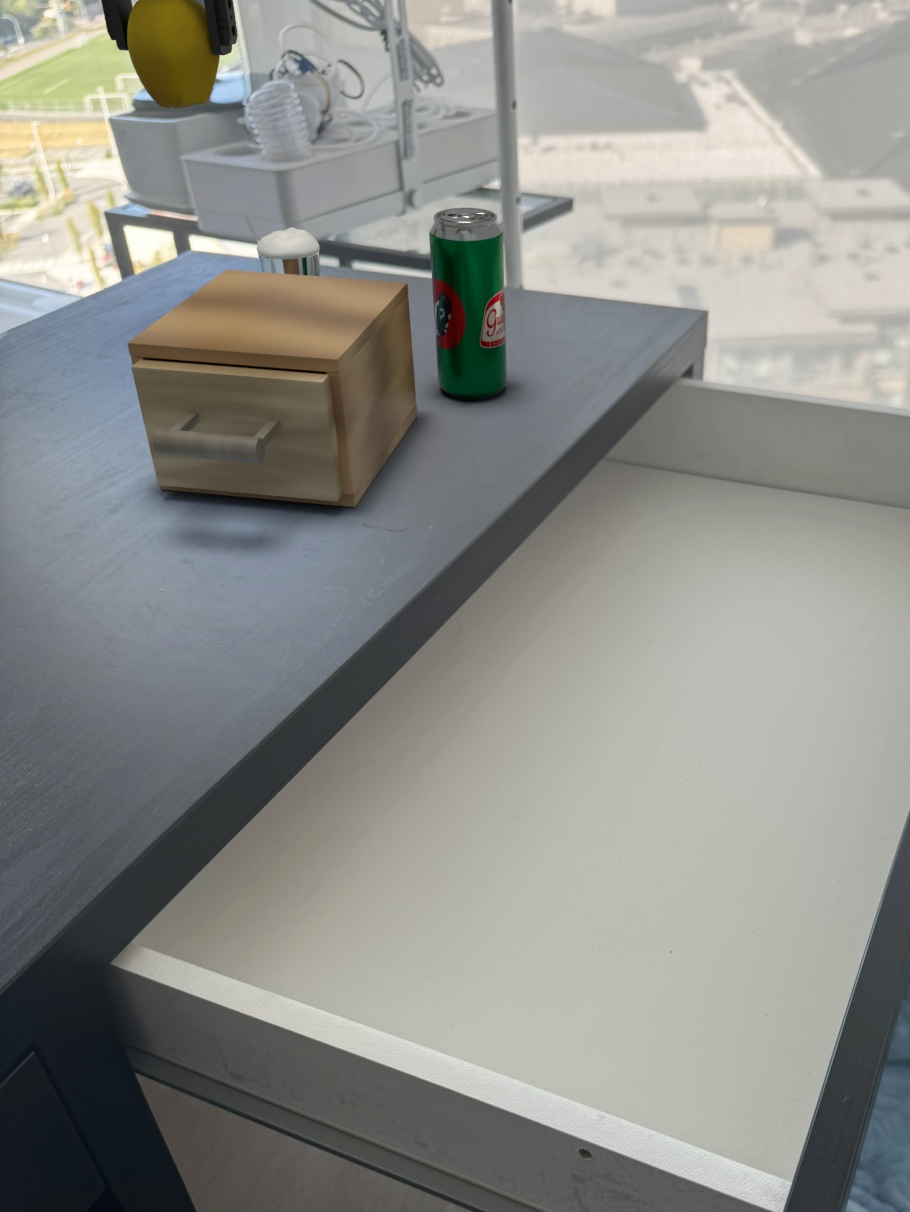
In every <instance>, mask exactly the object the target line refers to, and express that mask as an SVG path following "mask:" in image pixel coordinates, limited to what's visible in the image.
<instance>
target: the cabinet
mask: <svg viewBox="0 0 910 1212" xmlns="http://www.w3.org/2000/svg"><path fill="white" fill-rule="evenodd" d="M408 285H409V284H408V282H405V281H392V280H377V279H363V278H349V277H336V276H322V275H320V276H308V275H294V274H280V273H266V272H262V271H252V270H251V271H249V270H237V269H225V270H223V271H222V272H220V273H219V274H217V275H216V276H215V277H214V278H212V279H211V280H210V281H208V282H207V283H205V284H204V285H203V286H202V287H199V289H197V290H196V291H195V292H194V293H192V294H191V295H189V296H188V297H187V298H185V299H184V300H183V301H181V302H180V303H178V304H177V305H176V306H175V307H173V308H172V309H171V310H169V311H168V312H167V313H165V314H164V315H163V316H161V317H160V318H159V319H157V320H156V321H154V322H153V323H152V324H150V325H149V326H148V327H147V328H145V329H144V330H142V331H141V332H140V333H138V334H137V335H135V336H134V337H133V338H132V339H130V340H129V341H127V343H126V344H127V345H126V346H127V348H128V353H129V356H130V361H131V366H133V365H134V364H135V363H136V362H138V361H139V360H153V361H163V359H171V360H183V361H196V362H208V363H221V364H233V365H246V366H258V367H271V368H284V369H296V370H309V371H321V372H327V374H328V375H329V377H330V386H331V394H332V402H333V410H334V419H335V427H336V435H337V443H338V451H339V460H340V468H341V476H342V484H343V495H342V496H341V497H340V499H339V500H338V501H326V500H315V499H304V498H293V497H282V496H271V495H260V494H249V493H238V492H228V491H217V490H206V489H195V488H184V487H173V486H162V485H159V489H160V490H163V491H173V492H174V491H175V492H185V493H194V494H196V493H197V494H206V495H216V496H229V497H239V498H250V499H260V500H261V499H262V500H269V501H270V500H271V501H273V500H274V501H282V502H293V503H304V504H314V505H326V506H337V507H349V508H356V506H357V505H358V503H359V502H360V501H361V499H362V498H363V496H364V495H365V493H366V491H368V489H369V488H370V486H371V485H372V483H373V482H374V480H375V478H377V476H378V474H379V473H380V471H381V470H382V468H383V467H384V465H385V464H386V463H387V461H388V459H389V458H391V455H392V454H393V452H394V451H395V450H396V448H397V447H398V445H399V443H400V442H401V441H402V439H403V438H404V437H405V435H406V433H407V432H408V430H409V429H410V428H411V426H412V424H413V423H414V422H415V420H416V419H417V417H418V406H417V394H416V381H415V379H416V377H415V370H414V369H415V367H414V352H413V340H412V327H411V312H410V311H411V310H410V298H409V286H408Z"/></svg>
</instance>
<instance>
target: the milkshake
mask: <svg viewBox="0 0 910 1212" xmlns="http://www.w3.org/2000/svg"><path fill="white" fill-rule="evenodd" d="M243 218H244V220H245V222H246V224H247V226H248V228H249V230H250V232H251V234H252V236H253V237H254V239H255V242H256V251H257V256H258V260H259V265H260V268H261V272H266V273H280V274H294V275H308V276H321V249H320V248H321V247H320V244H319V242H318V241H317V240H316V238H315V237H314V236H313V235H312V234H311V233H310V232H308V231H307V230H304V229H300V228H299V229H298V228H296V227H288V228H286V229H284V230H274V231H272V232H271V233H269V234H266V235H264V236H263V237H261V239H260V238H259V236H258V234H257V232H256V230H255V228H254V226H253V225H252V222H251V221H250V218H249V216H248V215H247V214H245V215H243Z"/></svg>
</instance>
